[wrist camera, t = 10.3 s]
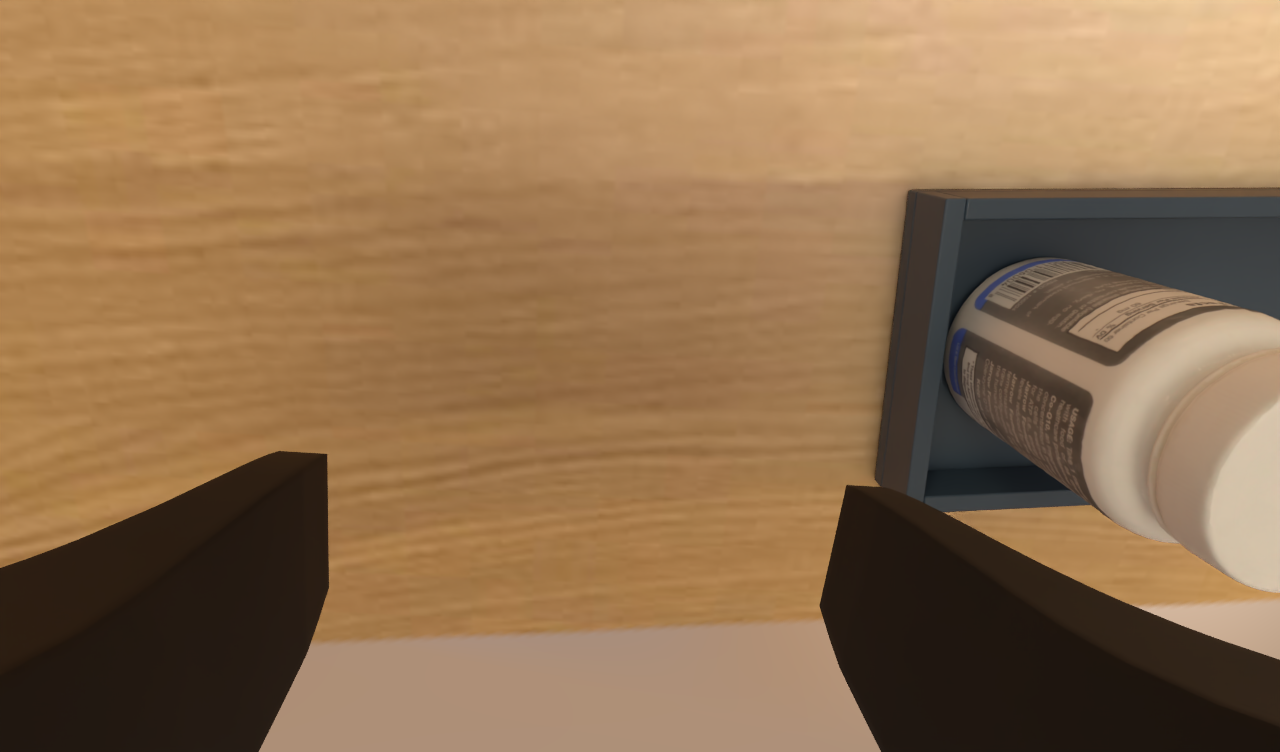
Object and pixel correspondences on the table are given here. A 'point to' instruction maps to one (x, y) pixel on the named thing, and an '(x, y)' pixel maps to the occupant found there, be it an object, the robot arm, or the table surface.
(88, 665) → the robot arm
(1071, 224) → the tray
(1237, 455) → the pill bottle
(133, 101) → the table surface
